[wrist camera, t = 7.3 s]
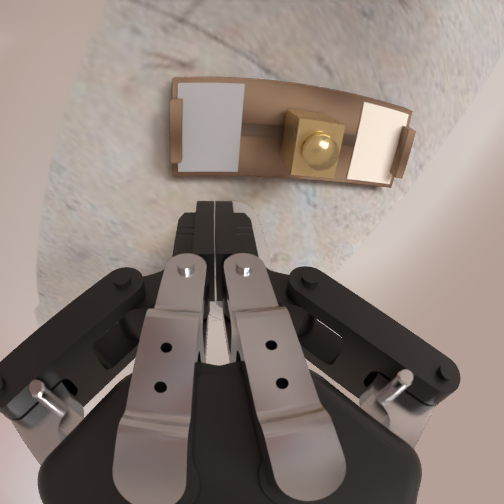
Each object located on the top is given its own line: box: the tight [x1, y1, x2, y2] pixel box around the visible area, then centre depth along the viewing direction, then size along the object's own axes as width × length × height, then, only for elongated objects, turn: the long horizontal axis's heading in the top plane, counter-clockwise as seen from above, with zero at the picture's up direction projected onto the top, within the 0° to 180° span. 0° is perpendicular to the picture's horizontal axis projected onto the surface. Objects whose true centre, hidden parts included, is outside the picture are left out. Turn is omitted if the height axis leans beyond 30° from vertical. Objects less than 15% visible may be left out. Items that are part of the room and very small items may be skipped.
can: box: [209, 201, 273, 320], centre depth 29 cm, size 8×8×12 cm
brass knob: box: [280, 108, 345, 178], centre depth 23 cm, size 5×4×6 cm
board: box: [170, 77, 416, 188], centre depth 26 cm, size 10×25×3 cm, turn 85°
